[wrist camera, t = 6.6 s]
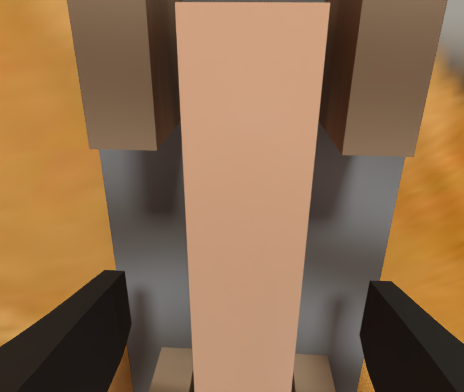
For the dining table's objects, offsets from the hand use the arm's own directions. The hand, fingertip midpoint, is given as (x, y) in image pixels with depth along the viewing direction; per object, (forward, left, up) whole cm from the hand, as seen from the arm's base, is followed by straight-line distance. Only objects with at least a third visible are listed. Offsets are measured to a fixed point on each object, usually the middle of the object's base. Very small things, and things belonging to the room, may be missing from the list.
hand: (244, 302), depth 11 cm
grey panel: (0, 0, -4) cm, 4 cm away
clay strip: (0, 0, -3) cm, 3 cm away
